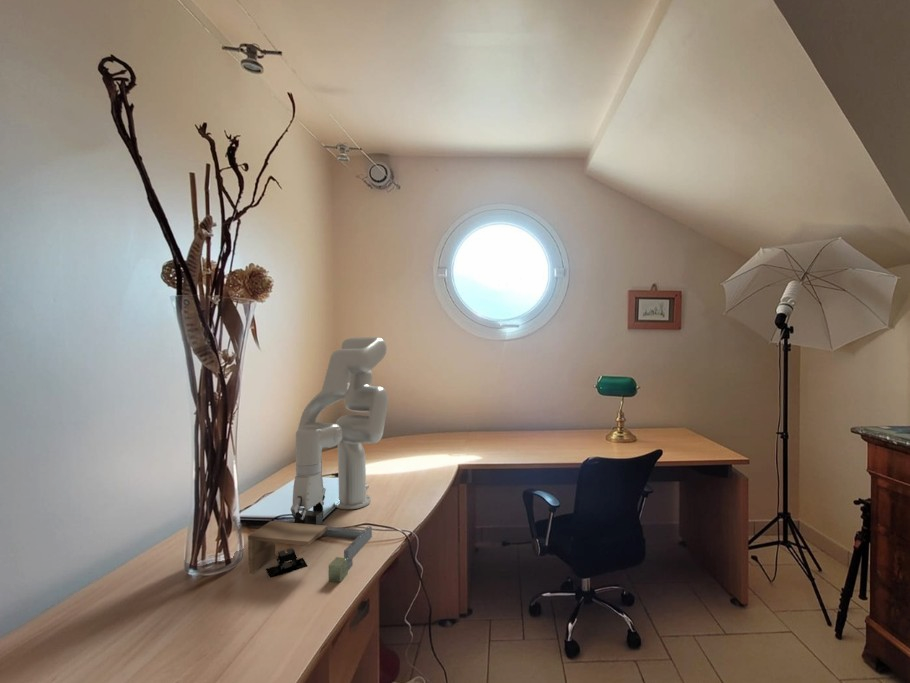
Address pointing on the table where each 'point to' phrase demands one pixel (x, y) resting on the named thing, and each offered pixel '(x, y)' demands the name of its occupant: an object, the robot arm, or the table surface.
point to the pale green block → (339, 569)
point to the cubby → (278, 540)
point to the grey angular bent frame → (341, 533)
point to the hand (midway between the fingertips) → (309, 525)
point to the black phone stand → (288, 566)
